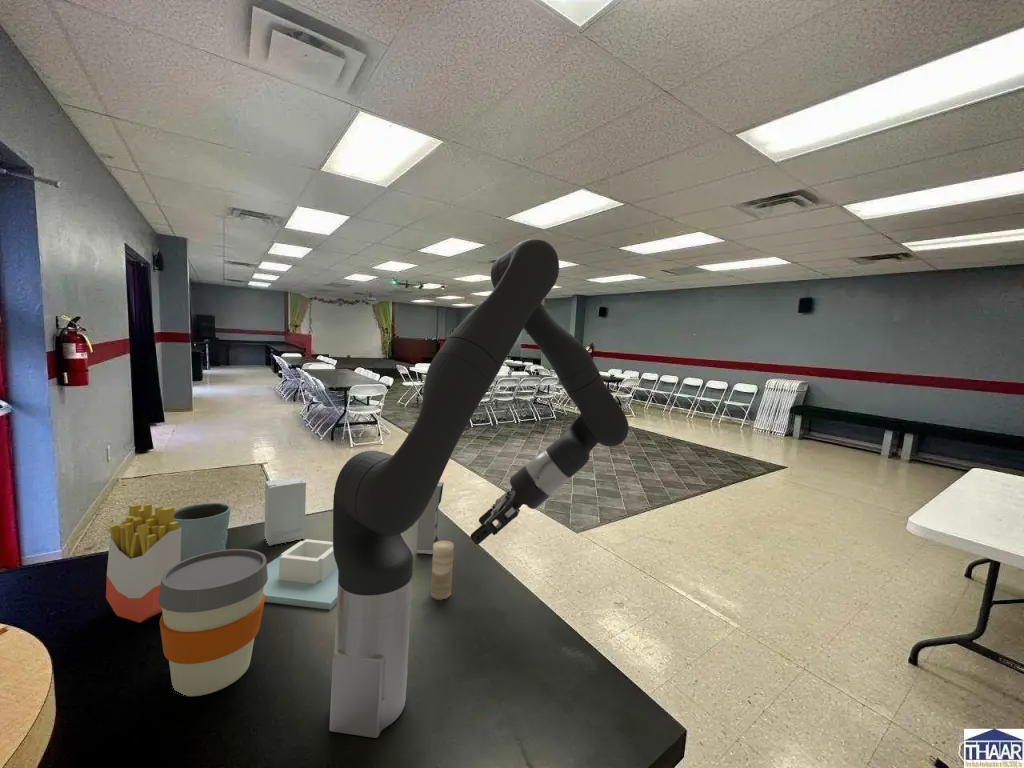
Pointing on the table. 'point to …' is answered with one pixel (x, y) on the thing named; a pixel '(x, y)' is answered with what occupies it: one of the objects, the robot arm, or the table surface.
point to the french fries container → (141, 560)
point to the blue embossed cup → (202, 528)
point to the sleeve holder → (304, 576)
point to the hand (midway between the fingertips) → (477, 531)
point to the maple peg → (442, 570)
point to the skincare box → (284, 509)
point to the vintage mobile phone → (429, 521)
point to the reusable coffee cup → (211, 617)
